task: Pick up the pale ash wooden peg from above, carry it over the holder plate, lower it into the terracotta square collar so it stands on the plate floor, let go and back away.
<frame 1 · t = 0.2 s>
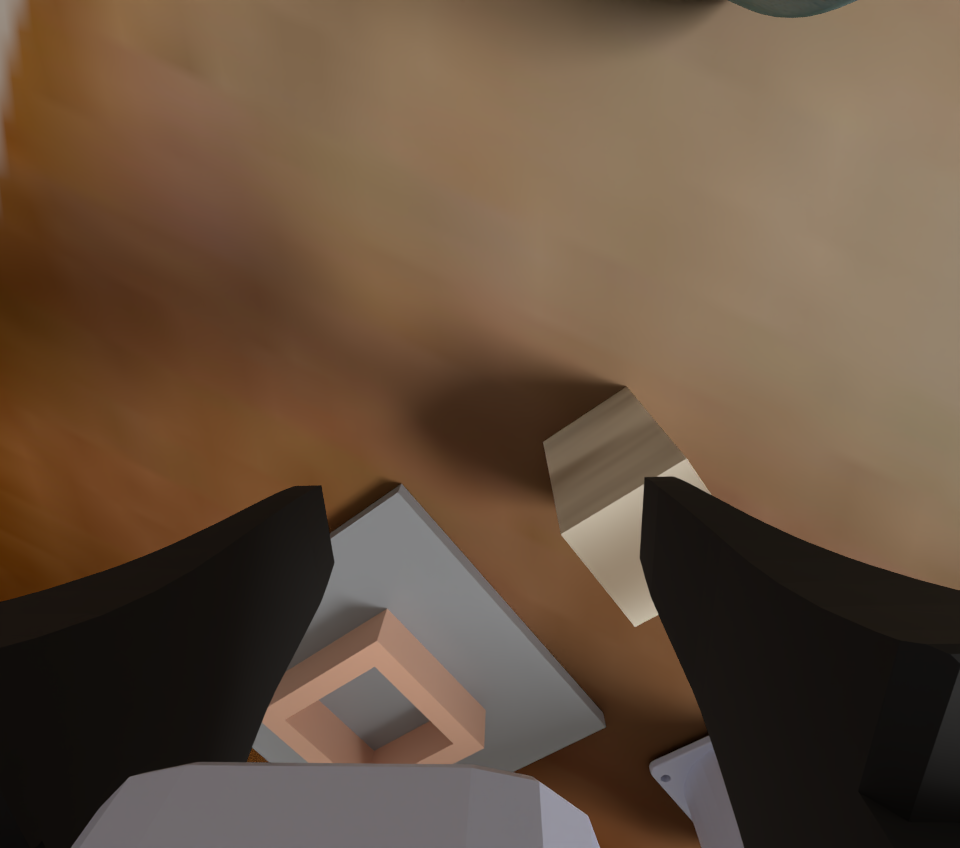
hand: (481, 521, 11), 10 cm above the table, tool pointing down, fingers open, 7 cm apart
holder: (382, 681, 26), on the table
peg: (610, 451, 21), on the table
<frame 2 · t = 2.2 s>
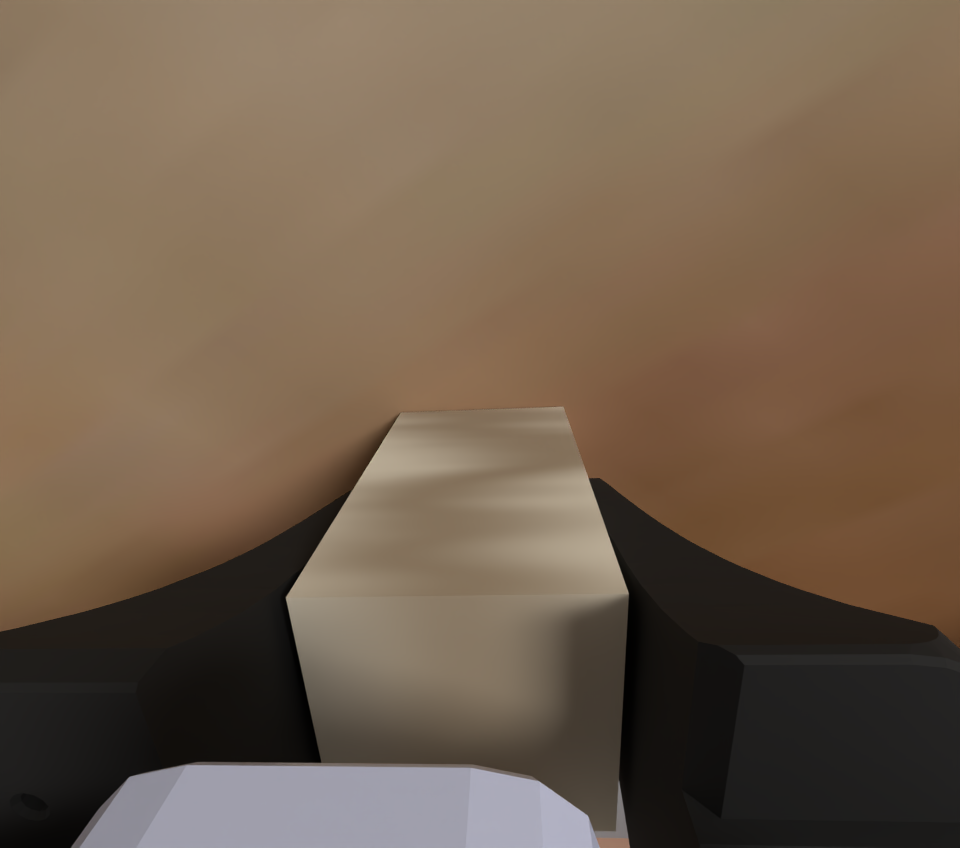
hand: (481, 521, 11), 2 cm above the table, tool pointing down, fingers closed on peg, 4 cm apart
peg: (485, 483, 13), on the table, touching gripper
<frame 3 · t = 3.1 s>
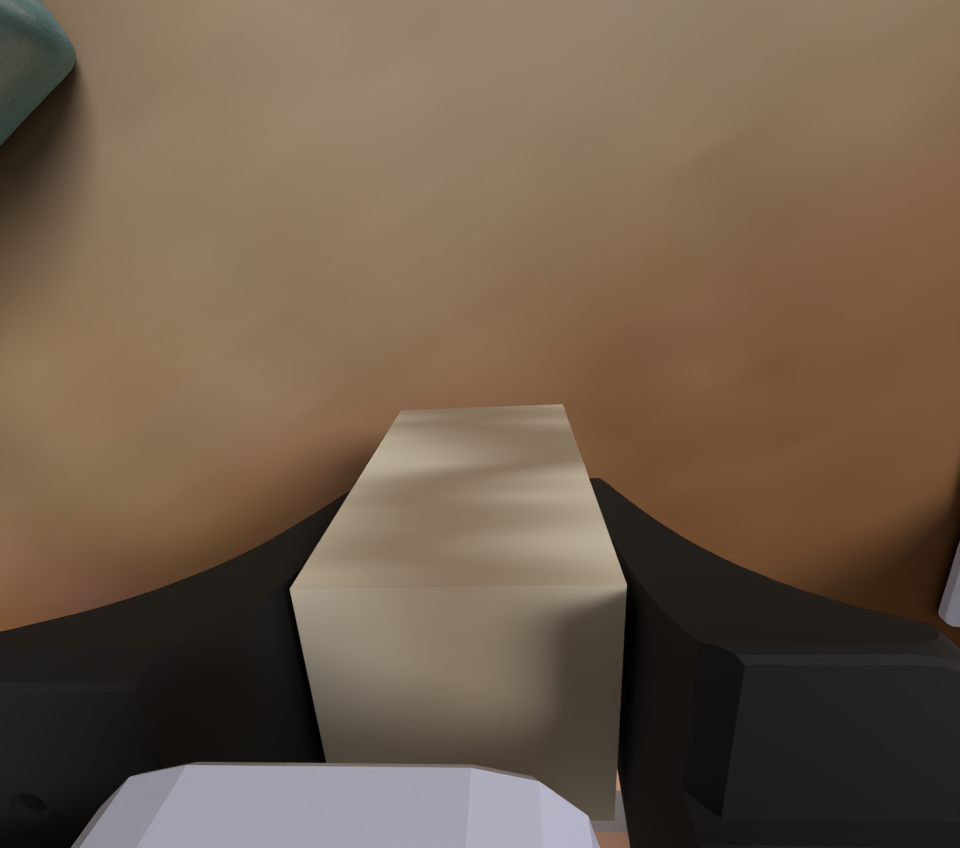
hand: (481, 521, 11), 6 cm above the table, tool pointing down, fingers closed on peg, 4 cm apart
holder: (596, 769, 22), on the table
peg: (485, 480, 13), point 4 cm above the table, touching gripper
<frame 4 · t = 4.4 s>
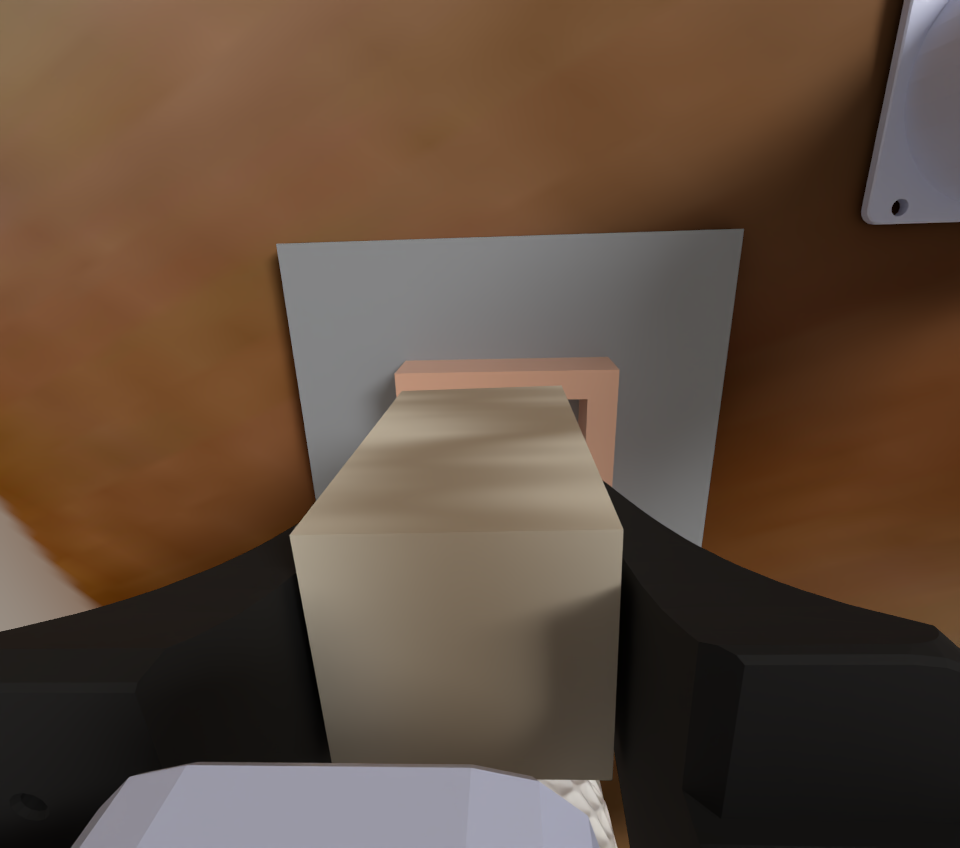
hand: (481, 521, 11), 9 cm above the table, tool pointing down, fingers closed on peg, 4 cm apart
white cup: (529, 756, 27), on the table
holder: (506, 444, 21), on the table
peg: (484, 462, 13), point 7 cm above the table, touching gripper
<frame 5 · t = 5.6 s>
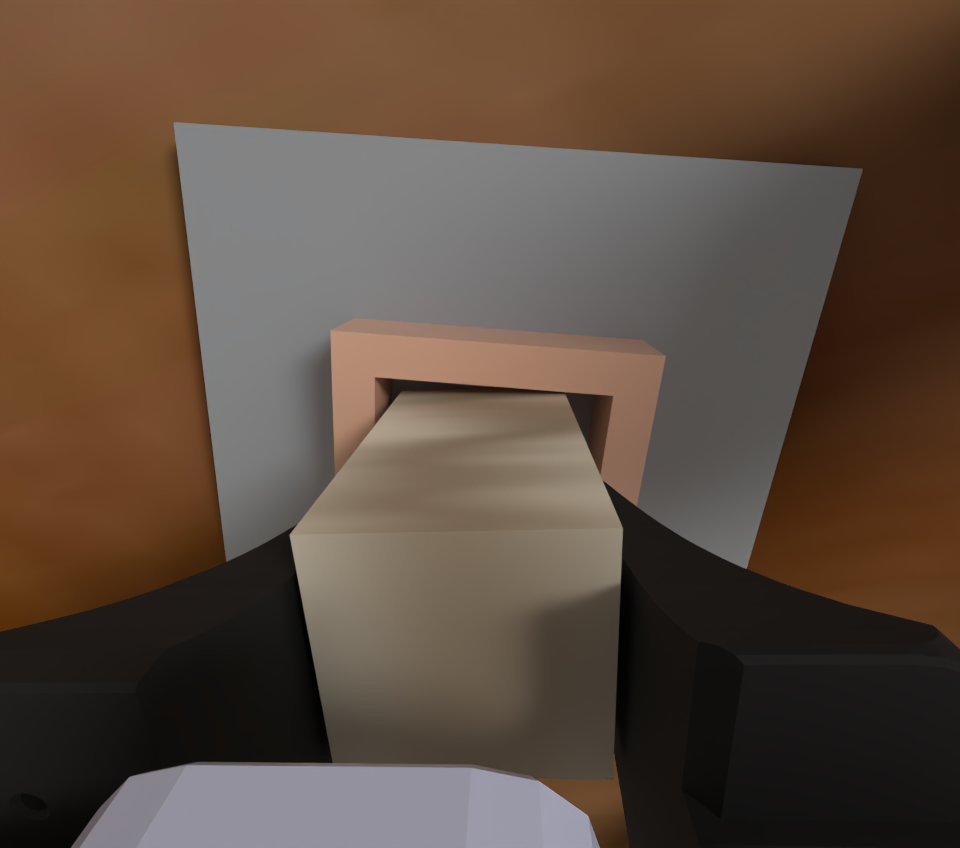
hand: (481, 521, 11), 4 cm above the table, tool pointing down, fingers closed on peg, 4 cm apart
holder: (488, 450, 15), on the table
peg: (484, 462, 13), point 2 cm above the table, touching gripper
when the fingers open (4 cm above the table, at t = 6.5 s): peg stays where it is, resting on holder.
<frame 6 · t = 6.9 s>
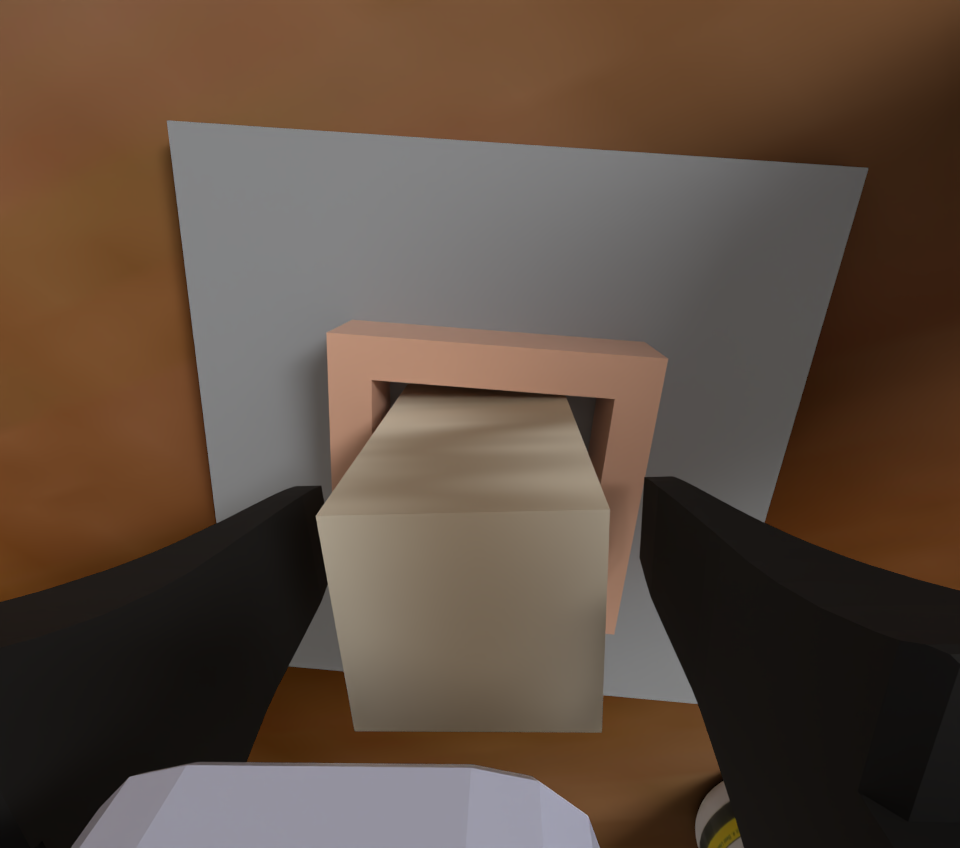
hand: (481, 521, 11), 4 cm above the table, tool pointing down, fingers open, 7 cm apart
holder: (487, 453, 15), on the table
peg: (486, 450, 14), point 1 cm above the table, touching holder
pill bottle: (770, 808, 20), on the table
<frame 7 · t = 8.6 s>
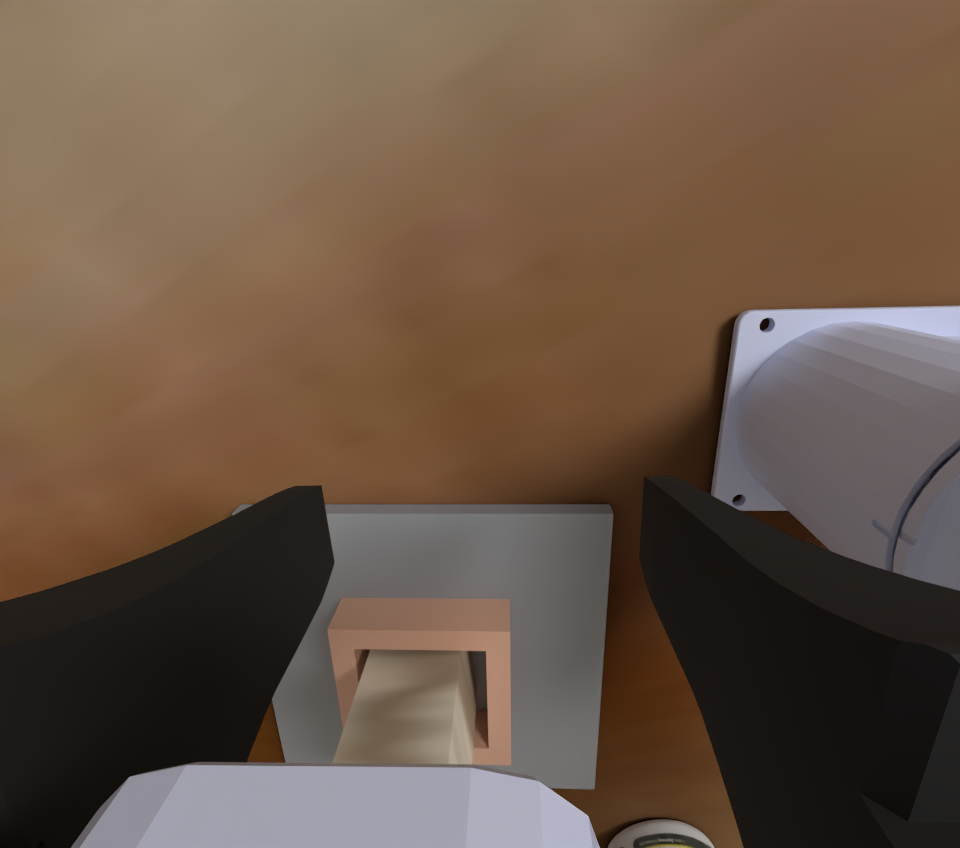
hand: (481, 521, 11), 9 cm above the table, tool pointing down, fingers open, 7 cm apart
holder: (432, 651, 25), on the table
peg: (428, 657, 24), point 1 cm above the table, touching holder
pill bottle: (657, 847, 29), on the table
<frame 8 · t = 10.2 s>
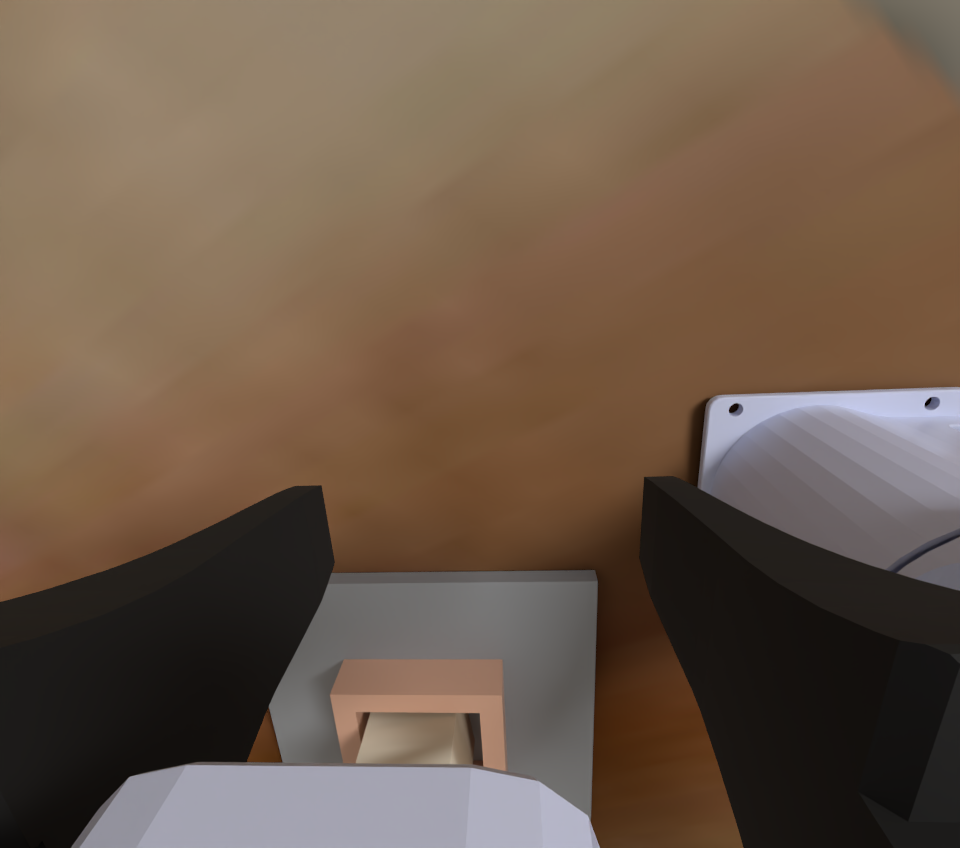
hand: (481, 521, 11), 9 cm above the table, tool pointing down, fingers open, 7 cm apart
holder: (431, 705, 26), on the table
peg: (427, 713, 25), point 1 cm above the table, touching holder
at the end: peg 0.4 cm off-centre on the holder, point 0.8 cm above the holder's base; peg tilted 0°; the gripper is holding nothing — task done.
